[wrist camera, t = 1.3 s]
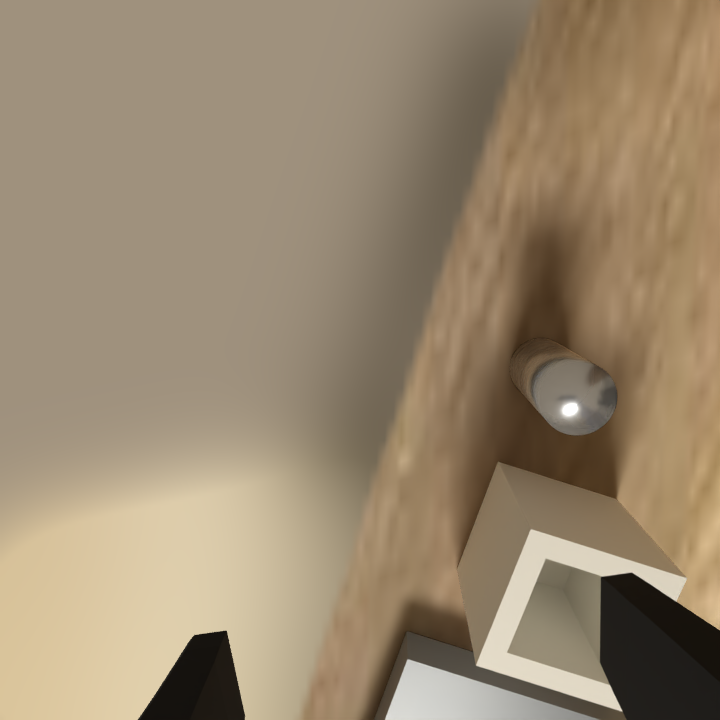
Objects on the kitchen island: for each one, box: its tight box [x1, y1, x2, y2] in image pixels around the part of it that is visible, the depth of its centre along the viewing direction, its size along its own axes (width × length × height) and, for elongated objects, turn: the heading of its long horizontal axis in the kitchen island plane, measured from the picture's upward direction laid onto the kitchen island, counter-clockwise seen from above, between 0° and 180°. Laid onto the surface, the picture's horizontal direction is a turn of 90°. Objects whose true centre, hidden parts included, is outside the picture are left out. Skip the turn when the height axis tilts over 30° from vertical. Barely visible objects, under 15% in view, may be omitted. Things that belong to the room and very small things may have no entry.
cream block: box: [457, 462, 687, 712], centre depth 22 cm, size 5×5×6 cm
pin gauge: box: [510, 338, 617, 435], centre depth 21 cm, size 2×2×5 cm
